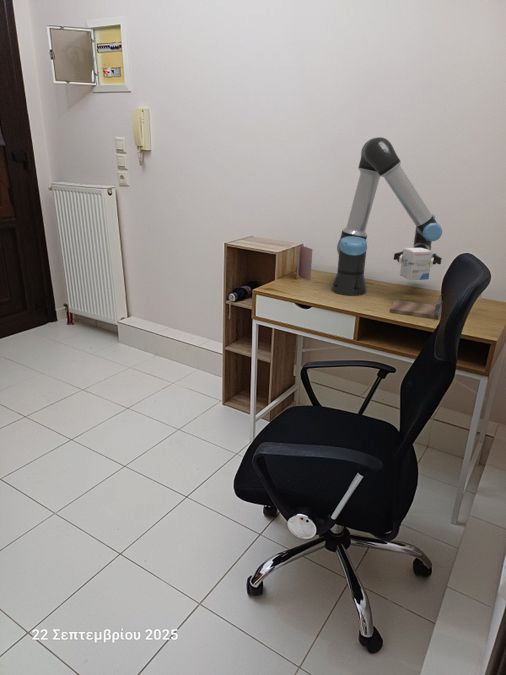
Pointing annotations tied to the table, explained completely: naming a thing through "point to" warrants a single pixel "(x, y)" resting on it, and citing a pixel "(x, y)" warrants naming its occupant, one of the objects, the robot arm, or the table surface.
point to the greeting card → (304, 262)
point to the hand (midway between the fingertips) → (415, 262)
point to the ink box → (416, 263)
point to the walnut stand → (417, 309)
